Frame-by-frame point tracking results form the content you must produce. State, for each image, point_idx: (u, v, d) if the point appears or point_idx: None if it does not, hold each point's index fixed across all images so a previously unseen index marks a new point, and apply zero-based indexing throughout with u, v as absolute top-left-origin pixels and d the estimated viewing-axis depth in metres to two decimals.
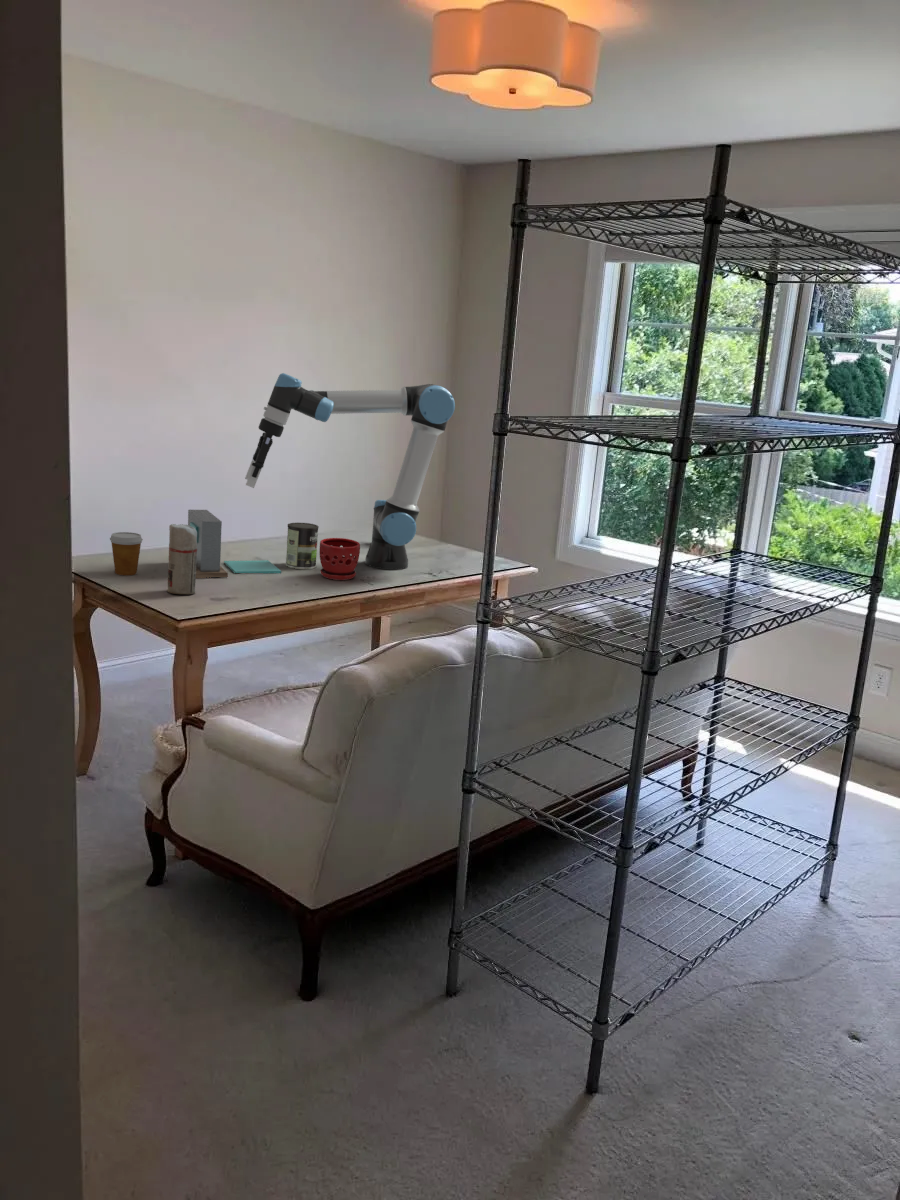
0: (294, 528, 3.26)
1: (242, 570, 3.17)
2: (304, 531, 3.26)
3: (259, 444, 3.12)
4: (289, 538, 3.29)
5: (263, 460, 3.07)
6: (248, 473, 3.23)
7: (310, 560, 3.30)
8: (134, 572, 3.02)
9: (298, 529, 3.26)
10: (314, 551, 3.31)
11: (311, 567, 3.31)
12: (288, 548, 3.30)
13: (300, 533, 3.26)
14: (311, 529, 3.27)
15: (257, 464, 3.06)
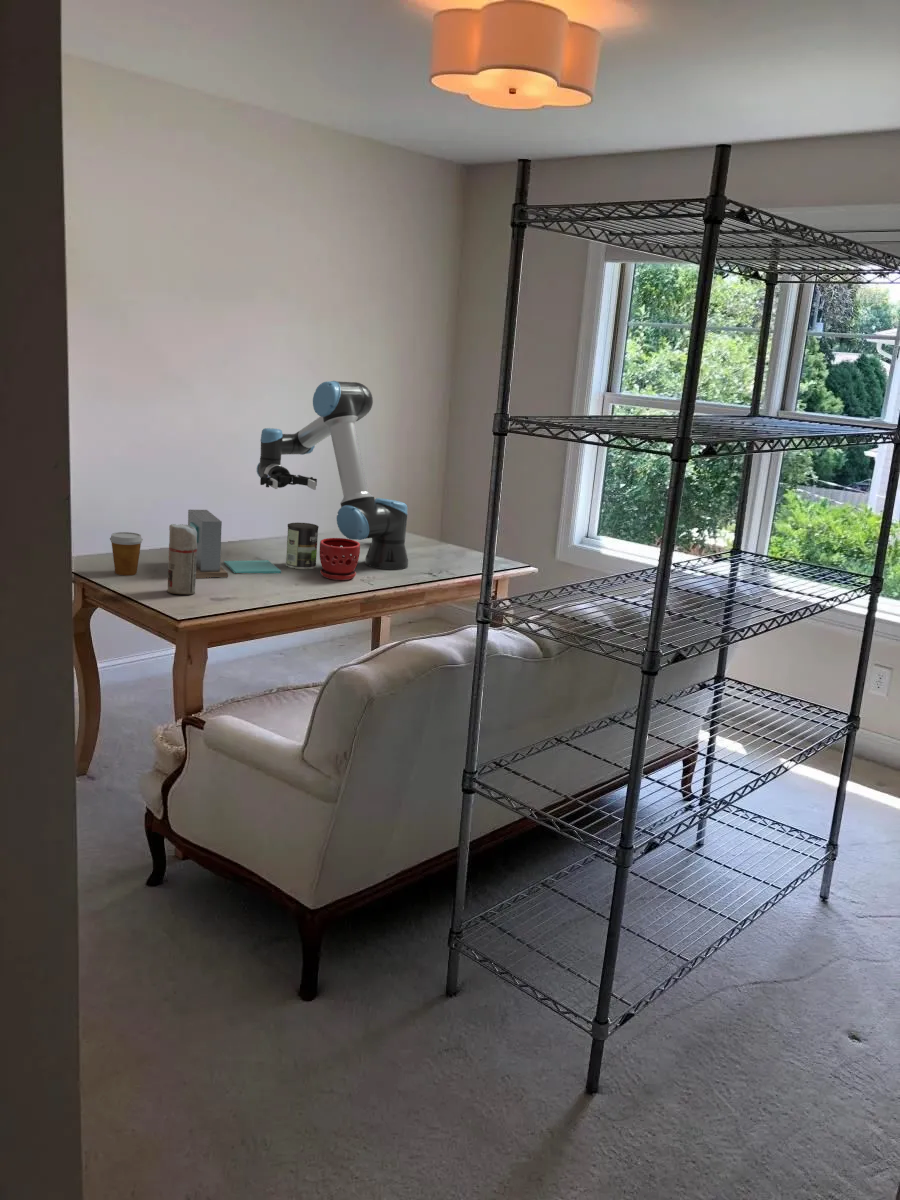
0: (294, 528, 3.26)
1: (242, 570, 3.17)
2: (304, 531, 3.26)
3: None
4: (289, 538, 3.29)
5: None
6: (311, 487, 3.41)
7: (310, 560, 3.30)
8: (134, 572, 3.02)
9: (298, 529, 3.26)
10: (314, 551, 3.31)
11: (311, 567, 3.31)
12: (288, 548, 3.30)
13: (300, 533, 3.26)
14: (311, 529, 3.27)
15: (260, 482, 3.38)
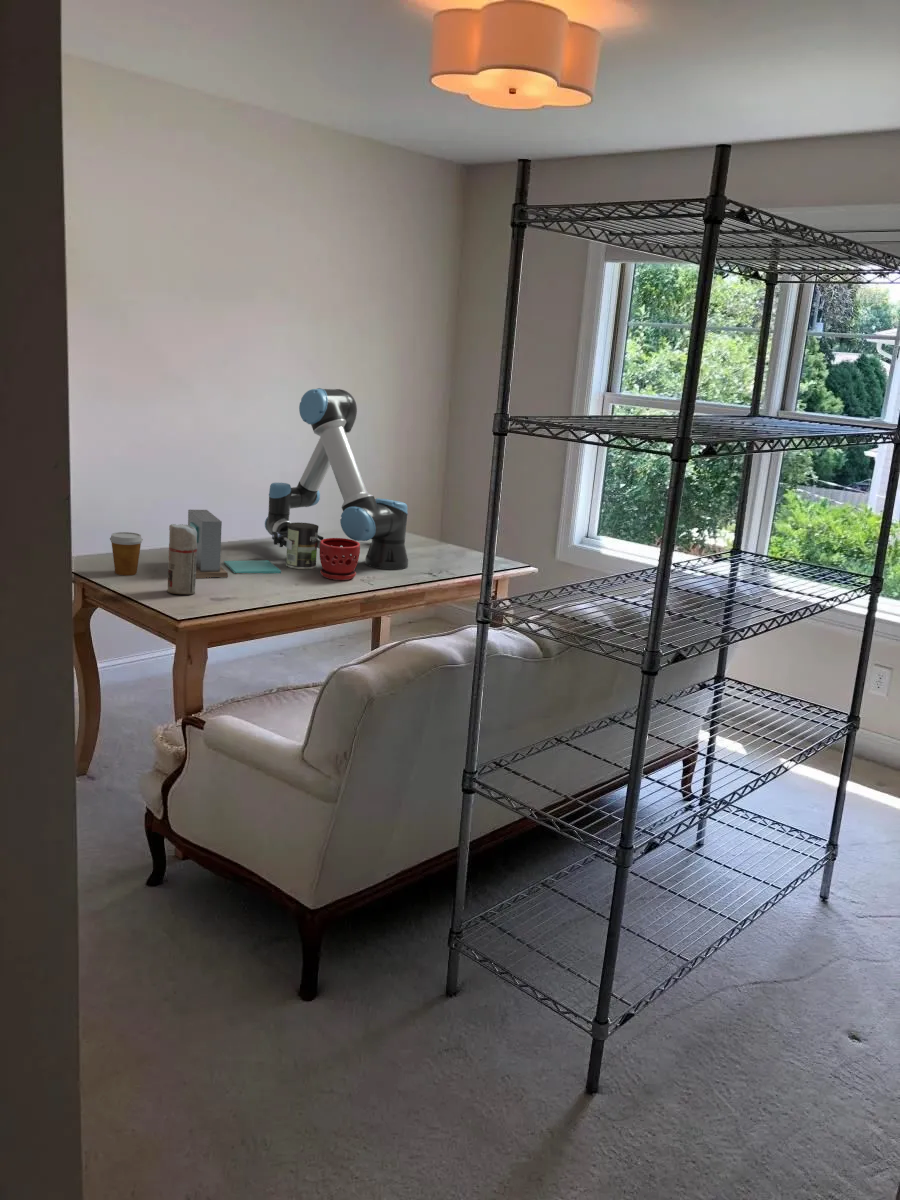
0: (294, 528, 3.26)
1: (242, 570, 3.17)
2: (304, 530, 3.26)
3: None
4: (289, 538, 3.28)
5: (274, 537, 3.33)
6: (318, 546, 3.33)
7: (310, 560, 3.30)
8: (134, 572, 3.02)
9: (298, 529, 3.26)
10: (314, 551, 3.31)
11: (311, 567, 3.31)
12: None
13: (300, 533, 3.26)
14: (311, 529, 3.27)
15: (274, 542, 3.31)
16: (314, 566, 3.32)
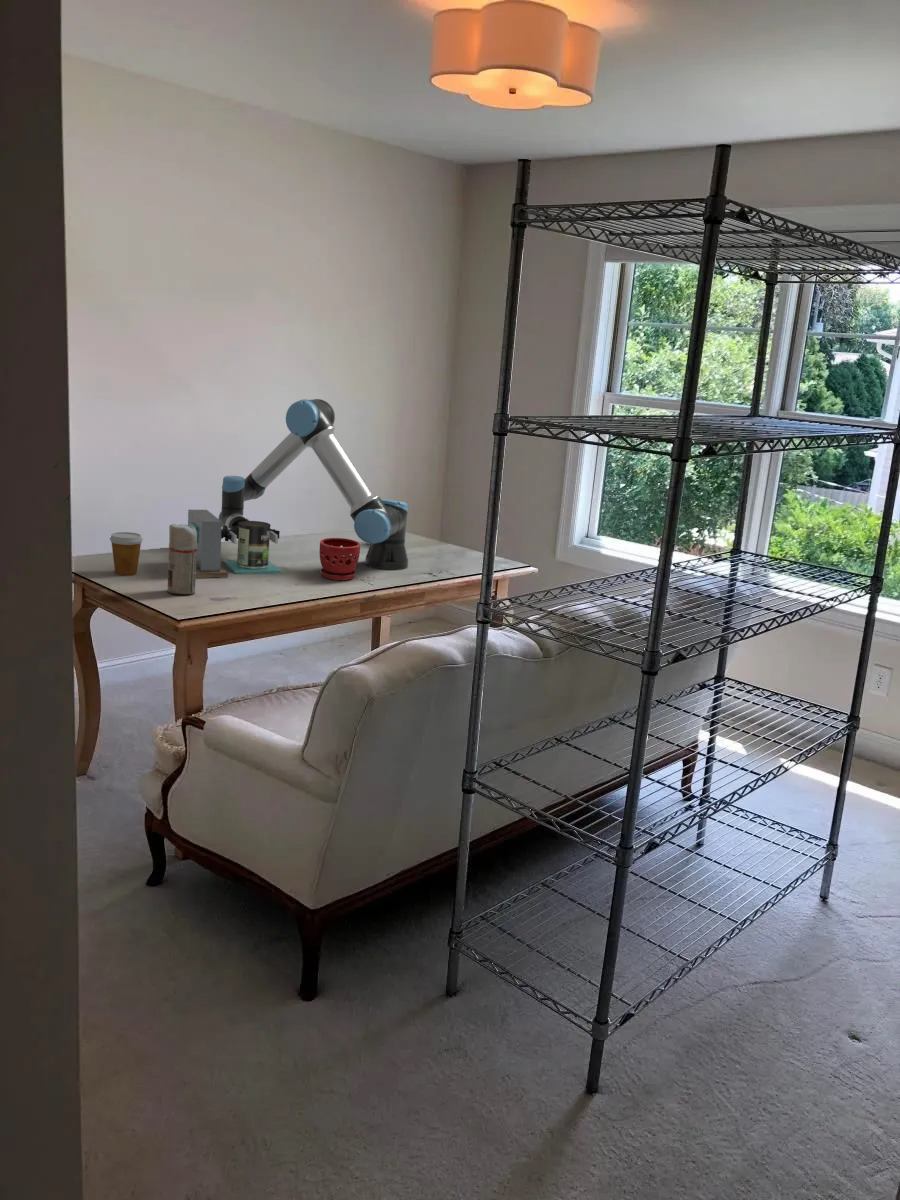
0: (245, 526, 3.17)
1: (242, 570, 3.17)
2: (254, 529, 3.17)
3: None
4: (240, 537, 3.19)
5: None
6: (273, 540, 3.24)
7: (261, 559, 3.20)
8: (134, 572, 3.02)
9: (249, 527, 3.16)
10: (266, 550, 3.21)
11: (263, 567, 3.21)
12: (239, 547, 3.20)
13: (251, 532, 3.17)
14: (262, 527, 3.18)
15: None
16: (266, 566, 3.23)
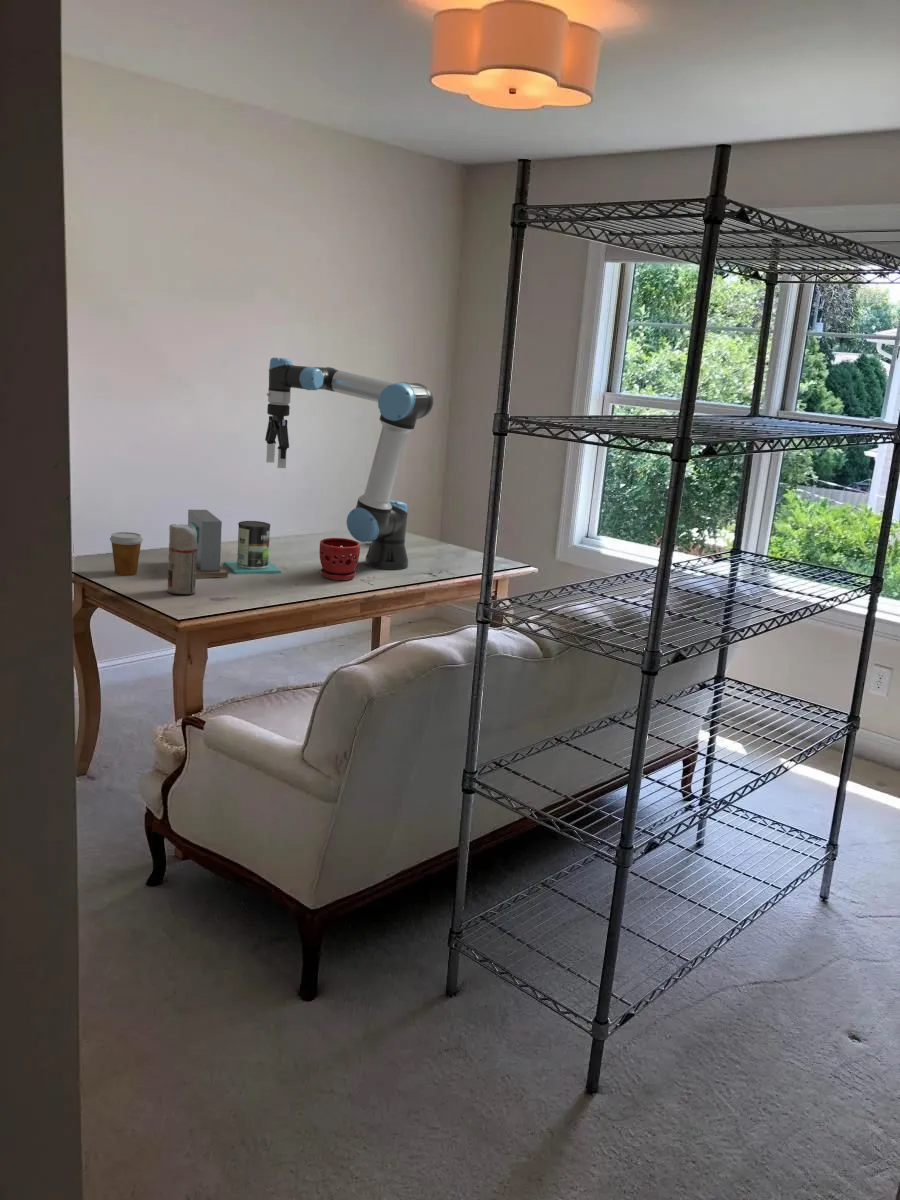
0: (244, 526, 3.17)
1: (242, 570, 3.17)
2: (254, 529, 3.17)
3: (275, 428, 3.38)
4: (240, 537, 3.19)
5: (287, 441, 3.35)
6: (268, 456, 3.50)
7: (261, 559, 3.20)
8: (134, 572, 3.02)
9: (248, 527, 3.16)
10: (266, 550, 3.21)
11: (263, 567, 3.21)
12: (239, 547, 3.20)
13: (251, 532, 3.17)
14: (262, 527, 3.18)
15: (284, 446, 3.34)
16: (266, 566, 3.23)
